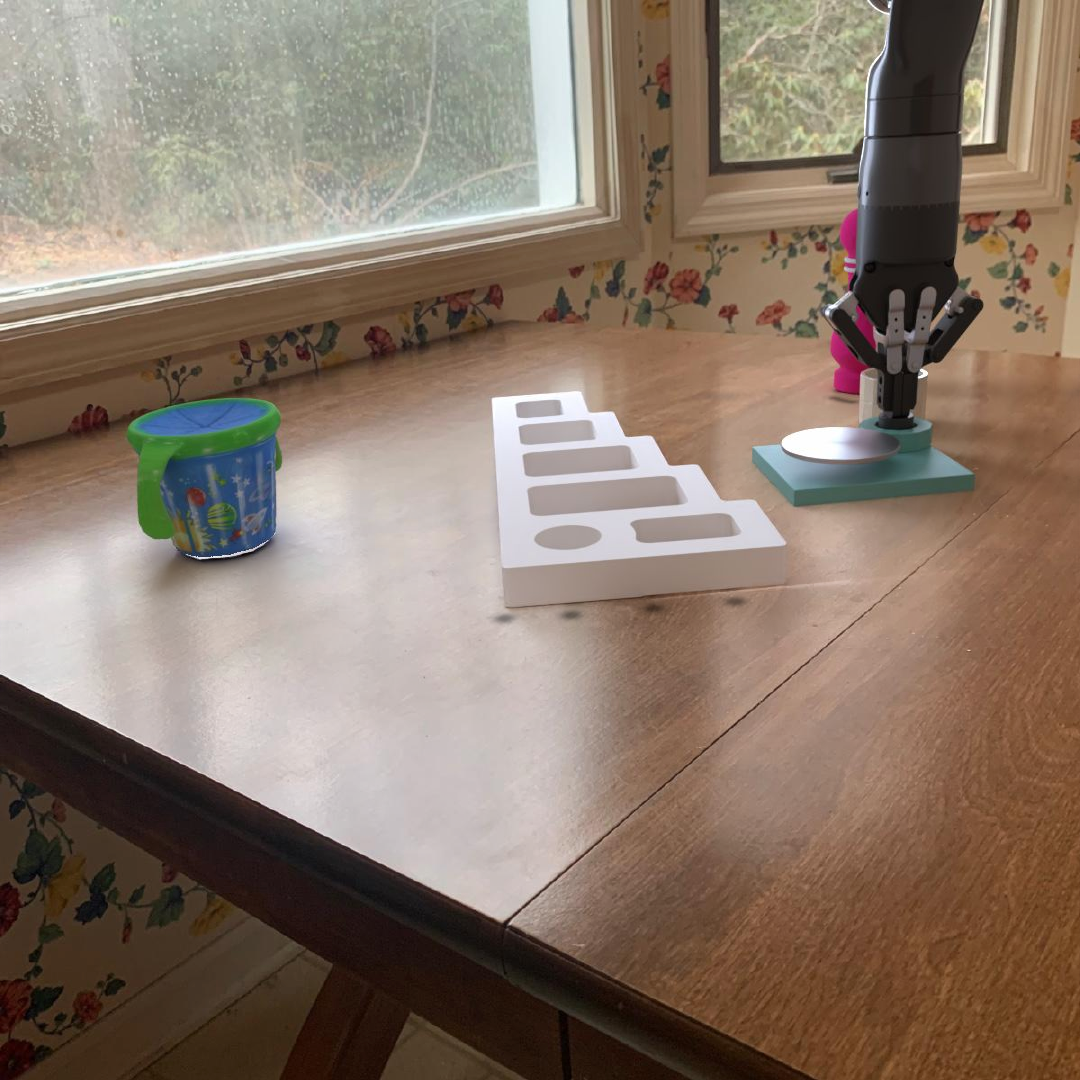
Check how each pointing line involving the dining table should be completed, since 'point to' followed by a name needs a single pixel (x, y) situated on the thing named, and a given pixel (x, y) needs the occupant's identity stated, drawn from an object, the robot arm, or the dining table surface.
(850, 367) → the pepper mill
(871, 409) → the beige cup
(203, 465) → the snack cup
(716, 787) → the dining table surface
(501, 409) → the holder
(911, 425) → the tare button
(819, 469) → the scale
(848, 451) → the weighing plate
